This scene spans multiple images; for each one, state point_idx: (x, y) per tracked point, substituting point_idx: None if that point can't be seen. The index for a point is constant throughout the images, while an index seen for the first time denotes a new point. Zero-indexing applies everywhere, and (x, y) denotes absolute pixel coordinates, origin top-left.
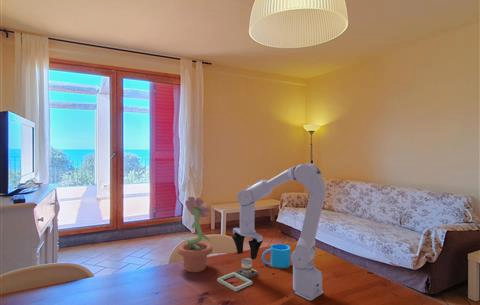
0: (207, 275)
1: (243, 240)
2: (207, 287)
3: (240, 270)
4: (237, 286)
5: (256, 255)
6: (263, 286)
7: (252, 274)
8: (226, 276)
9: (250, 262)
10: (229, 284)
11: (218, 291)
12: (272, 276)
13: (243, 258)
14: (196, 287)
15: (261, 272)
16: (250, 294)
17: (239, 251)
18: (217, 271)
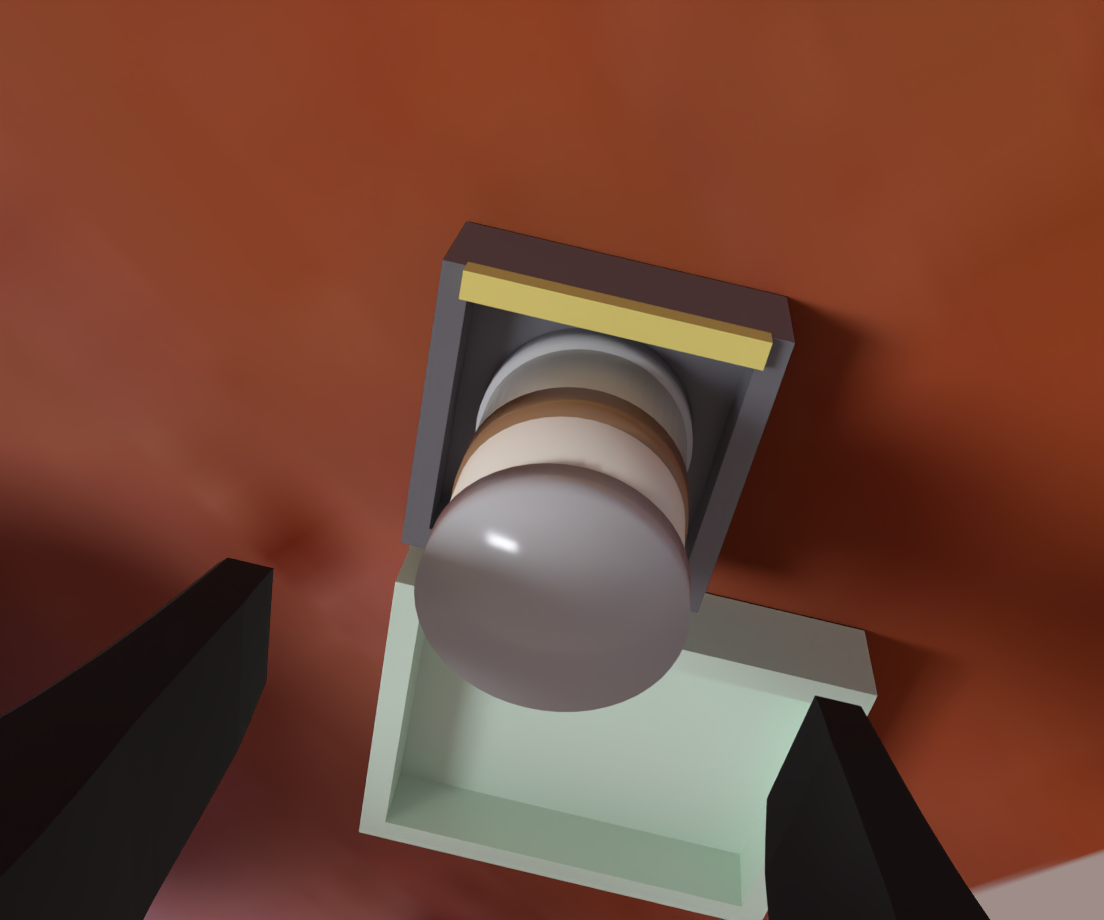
0: (76, 653)
1: (56, 830)
2: (357, 862)
3: (441, 466)
4: (753, 886)
5: (885, 777)
6: (1038, 539)
7: (743, 482)
8: (402, 719)
9: (684, 625)
10: (622, 886)
11: (531, 877)
12: (1082, 71)
13: (419, 579)
14: (263, 903)
15: (746, 31)
16: (938, 789)
17: (242, 704)
18: (51, 486)
